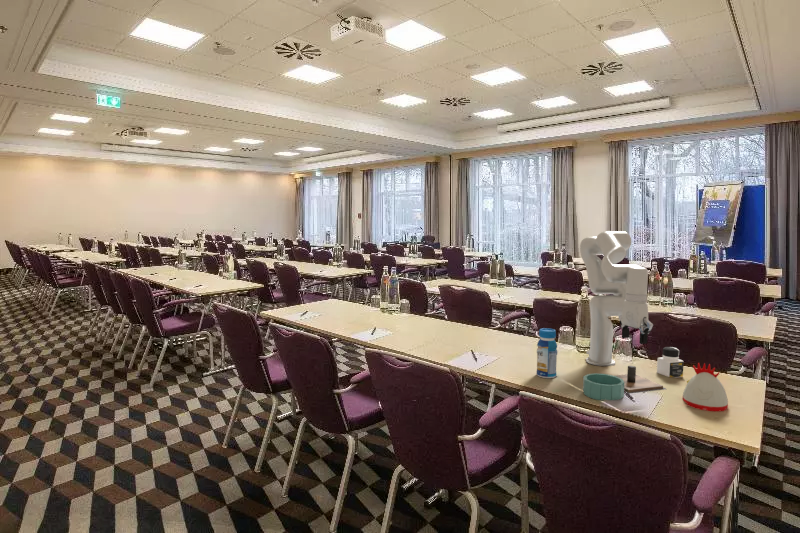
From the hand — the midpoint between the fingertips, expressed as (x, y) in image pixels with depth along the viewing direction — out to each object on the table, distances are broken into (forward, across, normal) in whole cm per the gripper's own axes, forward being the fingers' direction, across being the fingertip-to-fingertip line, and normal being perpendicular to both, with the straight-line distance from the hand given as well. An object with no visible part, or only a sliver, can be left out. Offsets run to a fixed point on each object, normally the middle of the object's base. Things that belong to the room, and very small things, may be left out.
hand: (634, 340), depth 194 cm
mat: (+18, 0, 0) cm, 18 cm away
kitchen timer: (+19, +24, +10) cm, 32 cm away
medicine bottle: (+19, -6, +25) cm, 32 cm away
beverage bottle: (+19, -20, -26) cm, 38 cm away
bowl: (+18, +6, -18) cm, 26 cm away
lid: (+18, 0, 0) cm, 18 cm away
